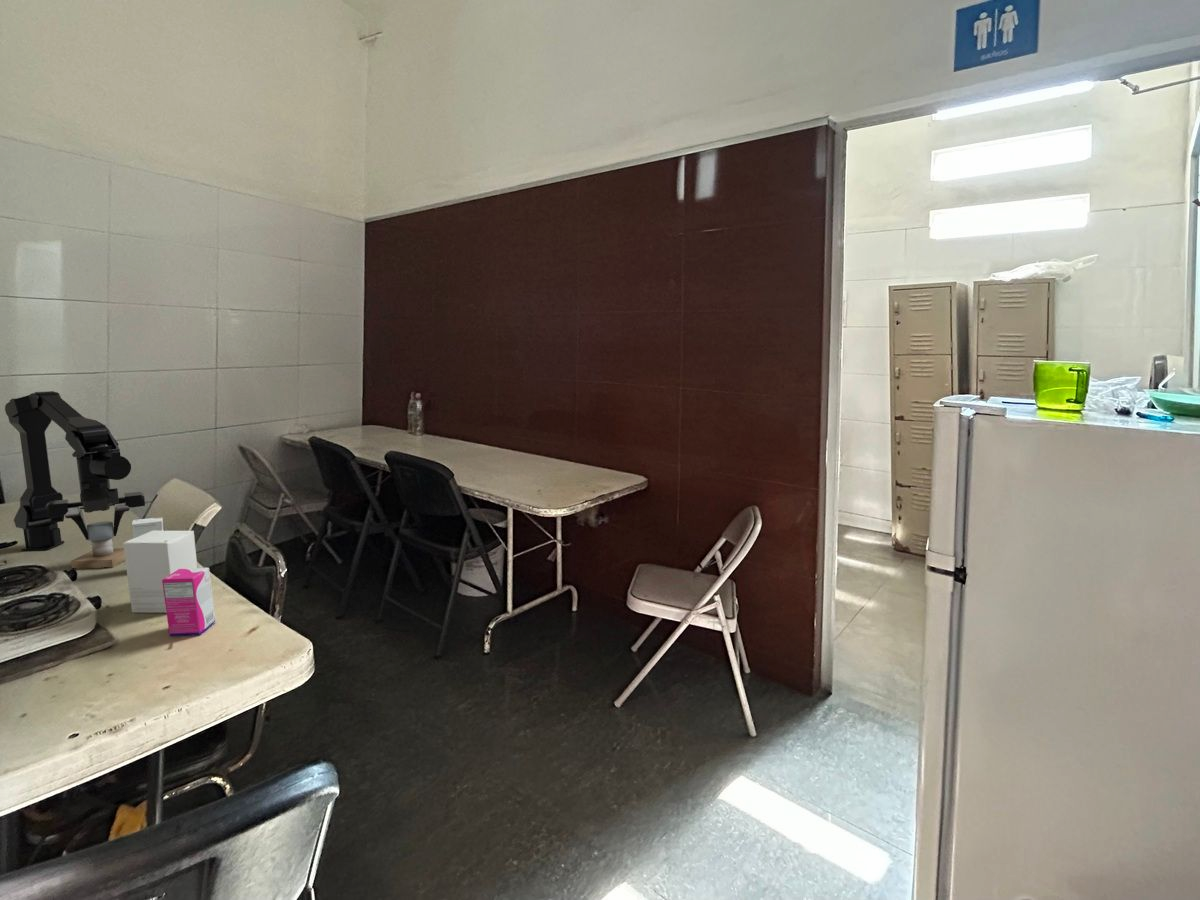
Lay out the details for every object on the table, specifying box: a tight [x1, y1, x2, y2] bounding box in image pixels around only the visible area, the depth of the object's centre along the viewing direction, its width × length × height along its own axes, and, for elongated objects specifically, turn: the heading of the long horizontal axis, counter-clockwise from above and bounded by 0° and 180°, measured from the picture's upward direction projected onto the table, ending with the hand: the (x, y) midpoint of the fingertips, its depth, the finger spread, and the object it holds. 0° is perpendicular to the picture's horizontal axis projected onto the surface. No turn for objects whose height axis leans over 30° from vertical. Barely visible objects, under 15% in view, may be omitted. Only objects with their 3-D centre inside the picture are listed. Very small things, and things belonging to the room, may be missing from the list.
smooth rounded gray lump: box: [86, 520, 115, 542], centre depth 154 cm, size 5×5×4 cm
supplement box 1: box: [122, 530, 198, 614], centre depth 130 cm, size 9×9×15 cm
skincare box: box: [131, 516, 164, 539], centre depth 151 cm, size 6×4×12 cm
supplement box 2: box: [162, 567, 216, 637], centre depth 119 cm, size 6×6×12 cm
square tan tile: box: [70, 538, 126, 570], centre depth 155 cm, size 9×9×6 cm
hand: (101, 537), depth 155 cm, fingers closed on smooth rounded gray lump, 5 cm apart
